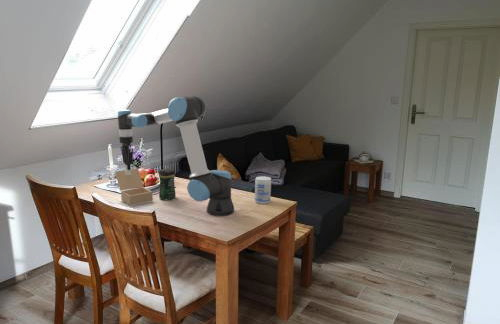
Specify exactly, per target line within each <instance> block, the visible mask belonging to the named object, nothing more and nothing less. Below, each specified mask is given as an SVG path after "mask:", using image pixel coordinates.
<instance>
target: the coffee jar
mask: <svg viewBox="0 0 500 324" xmlns="http://www.w3.org/2000/svg"><path fill="white" fill-rule="evenodd" d="M175 176H176V170H175V168H172V167H167V168H162V169H159V171H158V177H159V190H158V192H159V194H158V198H159V199H160V200H162V201H169V200H172V199H175V198H176V197H177V196H176V188H175V187H176V186H175V185H176V184H175Z"/></svg>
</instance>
